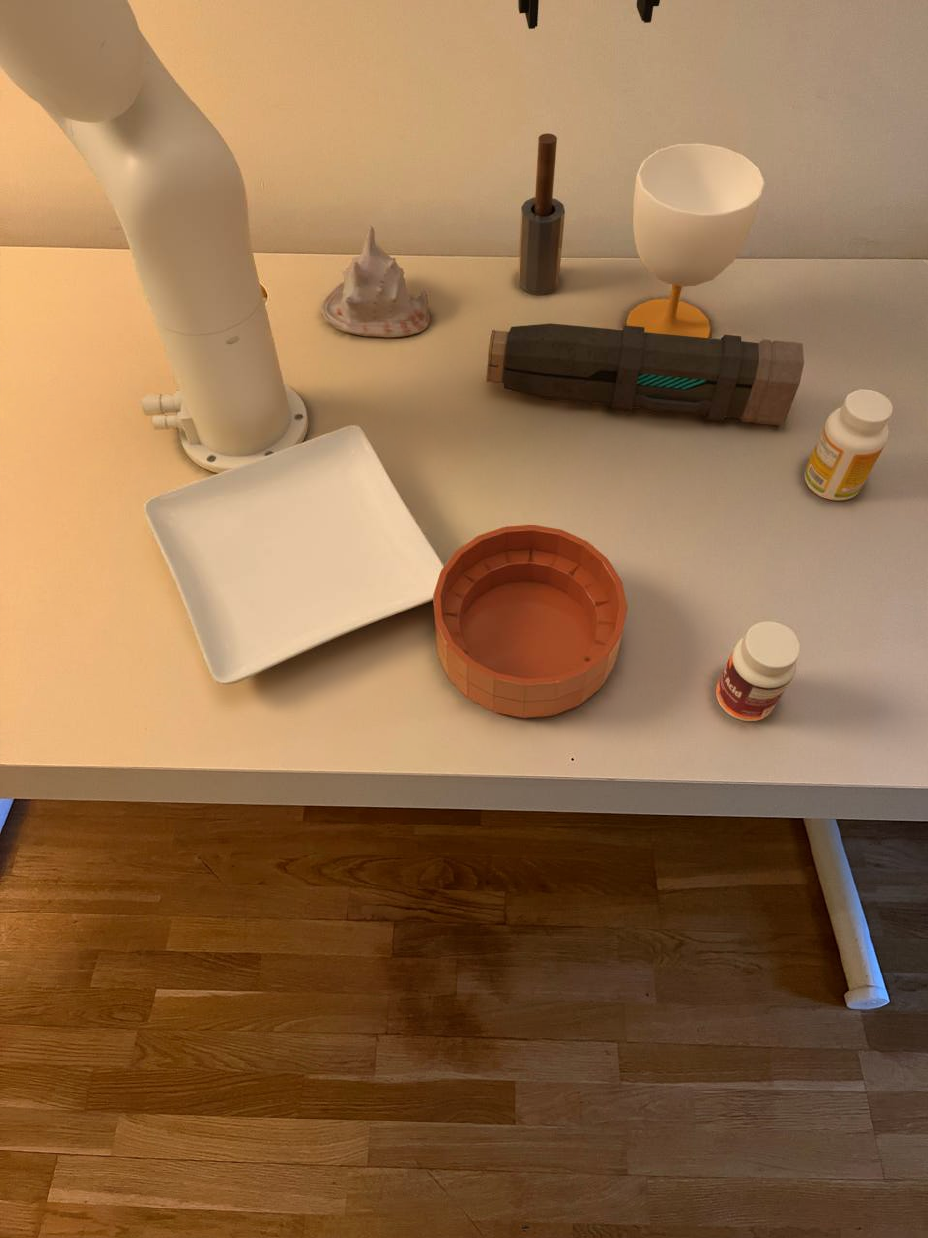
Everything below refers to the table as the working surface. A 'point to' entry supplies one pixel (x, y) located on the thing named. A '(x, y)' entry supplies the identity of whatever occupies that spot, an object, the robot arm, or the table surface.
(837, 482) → the supplement bottle
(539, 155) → the stick
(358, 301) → the seashell
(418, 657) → the table surface
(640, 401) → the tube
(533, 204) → the holder
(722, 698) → the pill bottle
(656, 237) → the cup
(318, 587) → the salad plate
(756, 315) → the table surface
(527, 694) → the bowl
